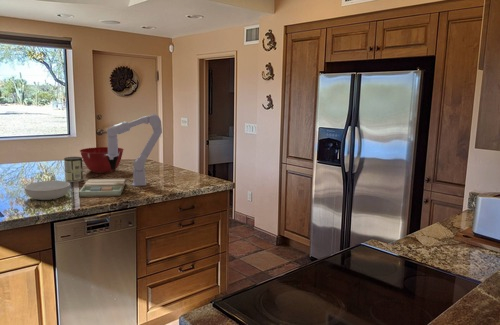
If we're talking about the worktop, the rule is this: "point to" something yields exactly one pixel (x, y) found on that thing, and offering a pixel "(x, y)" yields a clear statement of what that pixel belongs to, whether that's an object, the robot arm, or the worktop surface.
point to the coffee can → (73, 169)
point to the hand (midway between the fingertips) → (113, 169)
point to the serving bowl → (47, 189)
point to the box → (86, 191)
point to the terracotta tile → (107, 189)
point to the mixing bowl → (99, 159)
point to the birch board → (105, 182)
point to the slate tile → (95, 189)
